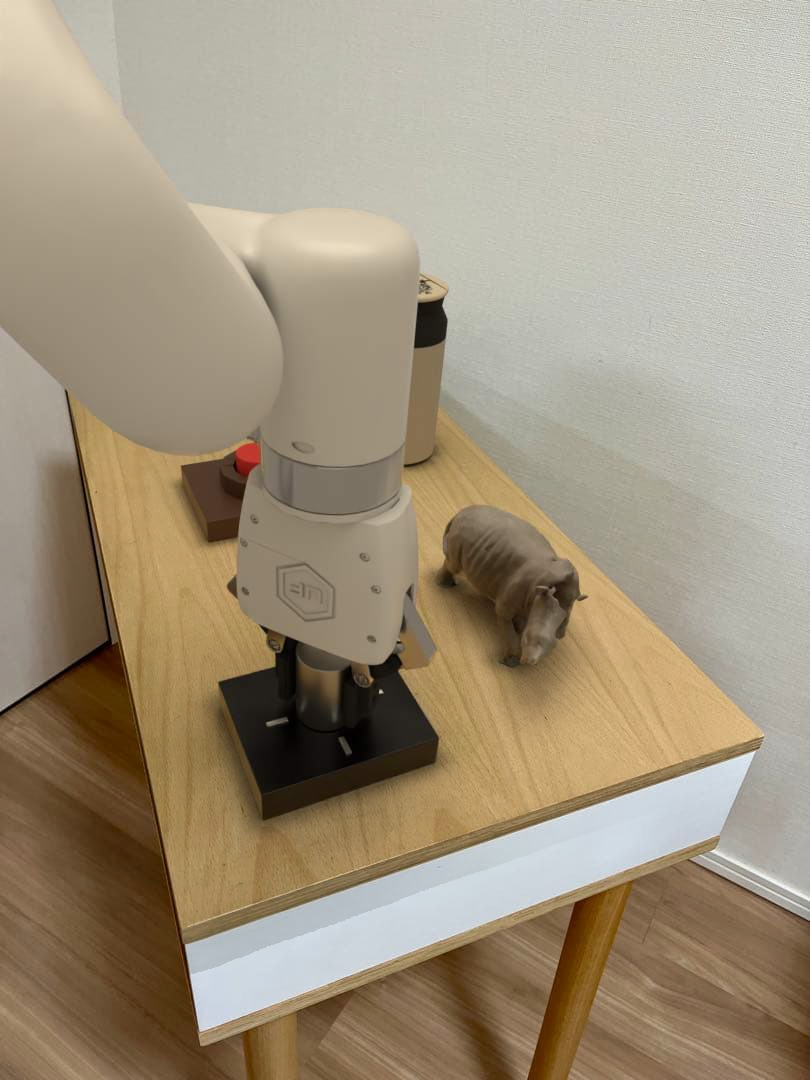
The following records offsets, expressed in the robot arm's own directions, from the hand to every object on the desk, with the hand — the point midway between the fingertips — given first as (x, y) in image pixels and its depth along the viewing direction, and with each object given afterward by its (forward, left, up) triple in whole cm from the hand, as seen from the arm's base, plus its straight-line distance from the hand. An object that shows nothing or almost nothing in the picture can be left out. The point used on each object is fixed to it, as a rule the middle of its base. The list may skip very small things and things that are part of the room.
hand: (326, 697), depth 54 cm
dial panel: (0, 0, -4) cm, 4 cm away
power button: (+4, +29, 0) cm, 29 cm away
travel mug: (+21, +34, -4) cm, 40 cm away
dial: (0, 0, -1) cm, 1 cm away
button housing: (+4, +29, -4) cm, 29 cm away
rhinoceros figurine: (+17, +5, -4) cm, 18 cm away
